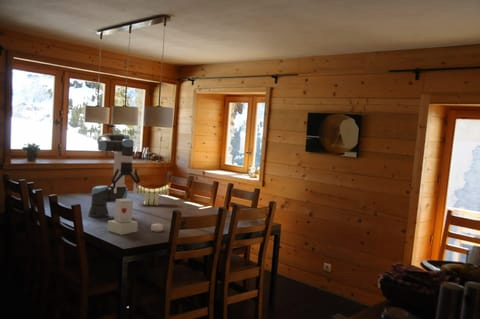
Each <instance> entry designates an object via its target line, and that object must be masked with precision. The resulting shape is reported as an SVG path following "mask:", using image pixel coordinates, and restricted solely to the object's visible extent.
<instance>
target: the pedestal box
mask: <svg viewBox="0 0 480 319" xmlns="http://www.w3.org/2000/svg"><path fill="white" fill-rule="evenodd" d="M138 226H139V222H138V221H136V220H133V219H132V222H123V223H119V222H117V221H115V220H114V219H112V220H107V231H108V232H111V233H114V234H117V235H121V236H122V234H123V235H127V234H132V233H136V232H138V229H139V228H138ZM131 232H132V233H131Z"/></svg>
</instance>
